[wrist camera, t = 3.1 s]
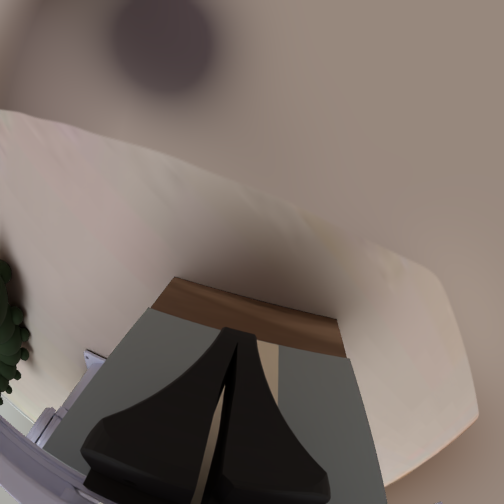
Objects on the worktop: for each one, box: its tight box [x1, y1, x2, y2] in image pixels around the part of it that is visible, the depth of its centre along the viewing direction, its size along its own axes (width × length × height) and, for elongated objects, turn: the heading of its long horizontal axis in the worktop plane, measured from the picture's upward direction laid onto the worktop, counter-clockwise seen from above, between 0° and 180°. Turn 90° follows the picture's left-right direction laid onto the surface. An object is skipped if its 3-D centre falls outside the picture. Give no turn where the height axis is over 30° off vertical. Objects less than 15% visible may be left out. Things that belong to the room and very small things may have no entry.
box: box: [151, 277, 347, 358], centre depth 22 cm, size 12×14×5 cm
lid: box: [42, 308, 387, 504], centre depth 11 cm, size 12×14×1 cm
